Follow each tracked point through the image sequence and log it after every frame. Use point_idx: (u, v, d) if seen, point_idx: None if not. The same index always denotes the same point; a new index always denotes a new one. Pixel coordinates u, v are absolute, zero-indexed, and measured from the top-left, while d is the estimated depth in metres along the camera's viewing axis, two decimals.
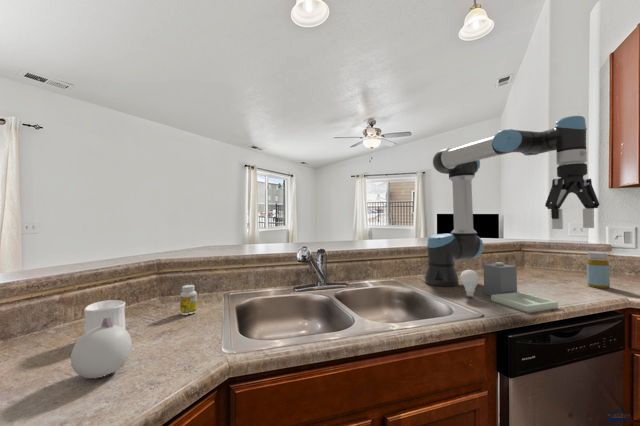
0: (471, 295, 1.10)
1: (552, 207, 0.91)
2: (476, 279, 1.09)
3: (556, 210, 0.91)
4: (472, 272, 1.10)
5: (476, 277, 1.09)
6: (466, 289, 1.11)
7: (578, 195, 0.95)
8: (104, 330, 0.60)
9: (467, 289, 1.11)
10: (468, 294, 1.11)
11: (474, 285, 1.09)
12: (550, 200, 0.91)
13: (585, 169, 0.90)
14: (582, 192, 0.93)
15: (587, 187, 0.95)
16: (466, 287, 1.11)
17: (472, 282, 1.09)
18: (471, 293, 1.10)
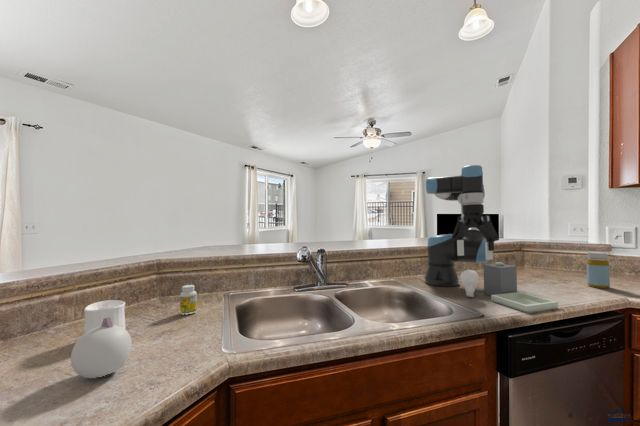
0: (471, 295, 1.10)
1: None
2: (476, 279, 1.09)
3: (456, 241, 1.20)
4: (472, 272, 1.10)
5: (476, 277, 1.09)
6: (466, 289, 1.11)
7: None
8: (104, 330, 0.60)
9: (467, 289, 1.11)
10: (468, 294, 1.11)
11: (474, 285, 1.09)
12: None
13: (466, 209, 1.12)
14: None
15: None
16: (466, 287, 1.11)
17: (472, 282, 1.09)
18: (471, 293, 1.10)
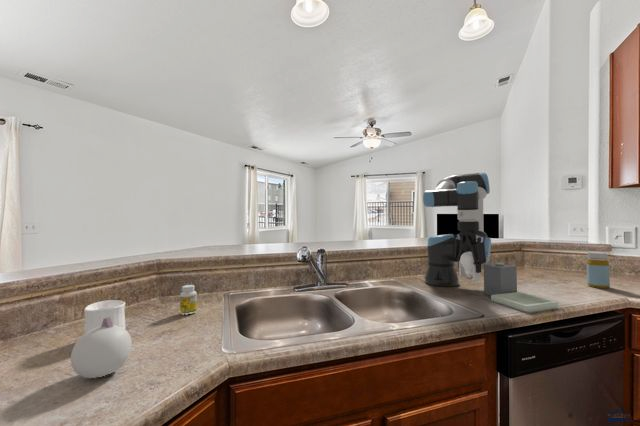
0: (471, 277, 1.11)
1: None
2: None
3: (458, 261, 1.17)
4: None
5: None
6: (466, 271, 1.12)
7: None
8: (104, 330, 0.60)
9: (467, 271, 1.11)
10: (468, 276, 1.12)
11: None
12: None
13: (461, 227, 1.11)
14: None
15: None
16: (466, 269, 1.12)
17: (472, 264, 1.09)
18: (471, 275, 1.11)
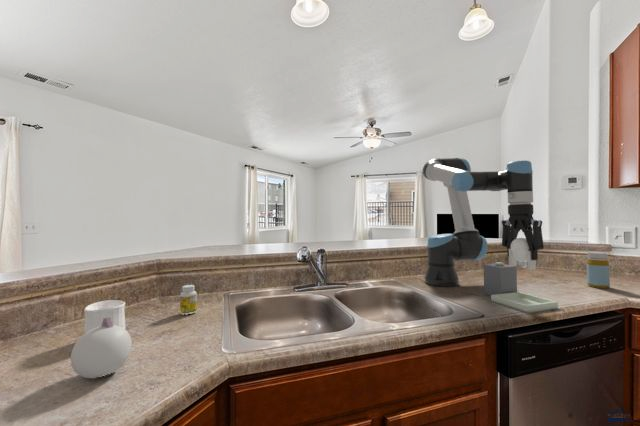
0: (524, 265, 1.01)
1: None
2: None
3: (508, 249, 1.07)
4: (525, 240, 1.00)
5: None
6: (518, 259, 1.02)
7: None
8: (104, 330, 0.60)
9: (519, 259, 1.01)
10: (520, 264, 1.01)
11: None
12: None
13: (513, 210, 1.01)
14: None
15: None
16: (518, 256, 1.01)
17: (526, 250, 0.99)
18: (524, 263, 1.01)
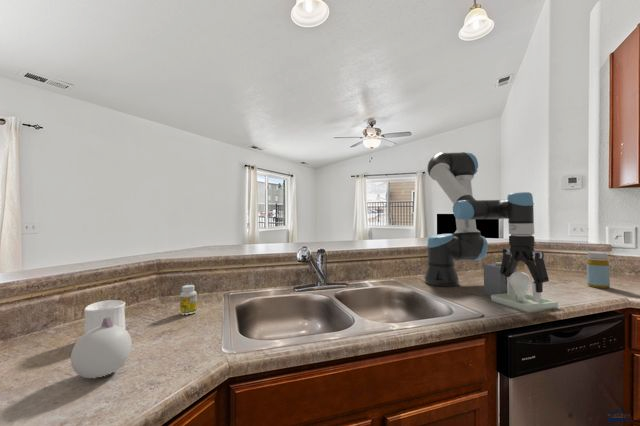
0: (523, 299, 1.01)
1: None
2: (529, 282, 1.00)
3: (506, 277, 1.08)
4: (523, 274, 1.01)
5: (528, 280, 1.00)
6: (517, 293, 1.02)
7: None
8: (104, 330, 0.60)
9: (518, 293, 1.02)
10: (519, 298, 1.02)
11: (526, 288, 1.01)
12: None
13: (514, 242, 1.01)
14: None
15: None
16: (517, 291, 1.02)
17: (525, 285, 1.00)
18: (523, 297, 1.01)
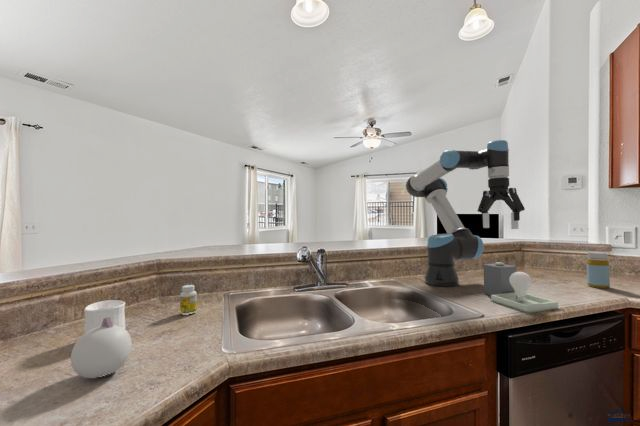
0: (523, 299, 1.01)
1: None
2: (529, 282, 1.00)
3: (482, 214, 1.26)
4: (524, 274, 1.01)
5: (529, 280, 1.00)
6: (517, 293, 1.02)
7: None
8: (104, 330, 0.60)
9: (518, 293, 1.02)
10: (519, 298, 1.02)
11: (526, 289, 1.00)
12: None
13: (492, 183, 1.18)
14: None
15: None
16: (517, 291, 1.02)
17: (525, 286, 1.00)
18: (523, 297, 1.01)
